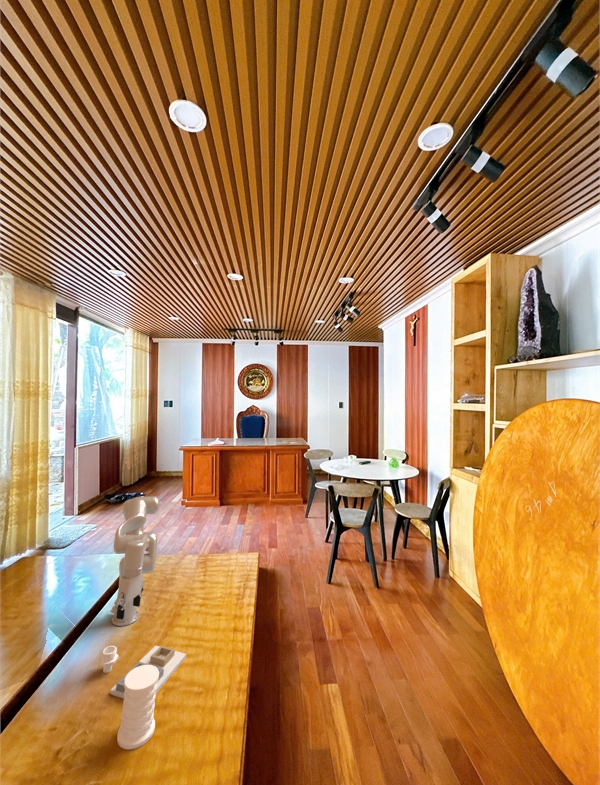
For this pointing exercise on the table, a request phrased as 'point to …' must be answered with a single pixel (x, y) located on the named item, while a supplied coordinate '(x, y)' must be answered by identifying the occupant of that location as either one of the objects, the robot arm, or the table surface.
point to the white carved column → (138, 707)
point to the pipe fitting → (108, 658)
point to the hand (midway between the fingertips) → (128, 612)
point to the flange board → (161, 659)
